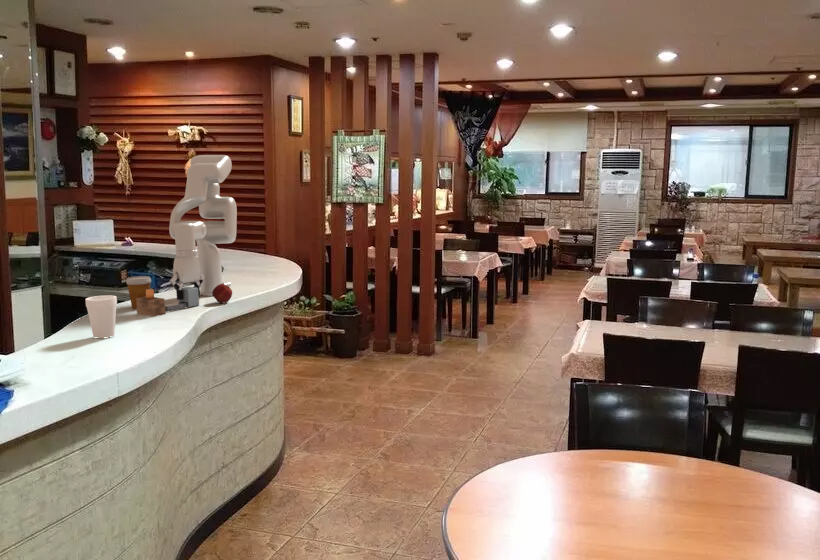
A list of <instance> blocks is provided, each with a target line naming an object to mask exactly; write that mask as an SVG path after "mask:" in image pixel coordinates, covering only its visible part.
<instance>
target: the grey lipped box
mask: <svg viewBox="0 0 820 560" xmlns="http://www.w3.org/2000/svg"><path fill="white" fill-rule="evenodd" d="M181 290H183V298H184V299H183V300H178V302H182V301H183V302H188V307H189V308H192V307H191V306H194V307H197V306H196V305H198V306H199V305H200V297H199V295H198V288H194V287H193V286H185V287H184V286H183V287H182V289H181Z"/></svg>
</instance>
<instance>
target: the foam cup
mask: <svg viewBox="0 0 820 560" xmlns="http://www.w3.org/2000/svg"><path fill="white" fill-rule="evenodd" d="M117 298H118V297H117V296H116V295H111V294H110V295H109V294H108V295H95V296H90V297H86V298H85V307H86V309H87V314H88V318H89V323H90V327H91V332H92V335H93V338H94V337H98V338H104V337H110V336H114V337H115V331H116V330H115V329H116V317H117V316H116V314H117V305H118V299H117Z"/></svg>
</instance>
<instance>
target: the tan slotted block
mask: <svg viewBox="0 0 820 560" xmlns="http://www.w3.org/2000/svg"><path fill="white" fill-rule="evenodd" d="M136 302H137V309H136V312H137V313H136V314H137V315H143V316H150V317H157V316H158V315H159V316H163V314H164V315H166V311H165V305H166V302H165V298H163V297H155V296H154V299H150V300H148V299H146V297H140V298H136Z"/></svg>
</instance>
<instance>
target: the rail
mask: <svg viewBox="0 0 820 560" xmlns="http://www.w3.org/2000/svg"><path fill="white" fill-rule="evenodd" d="M185 307H188V302H183V301H182V302H179V301H177V302H174V303H168V304H165V312H166V311H169V312H173V311H172V310H174V311H178V310H177V309H179V310H182V309H181V308H184V309H186V308H185Z"/></svg>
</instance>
